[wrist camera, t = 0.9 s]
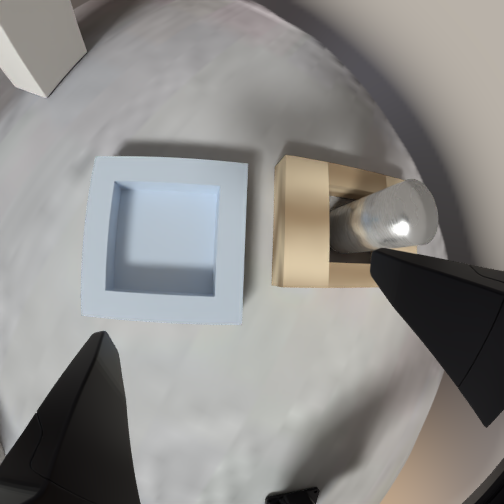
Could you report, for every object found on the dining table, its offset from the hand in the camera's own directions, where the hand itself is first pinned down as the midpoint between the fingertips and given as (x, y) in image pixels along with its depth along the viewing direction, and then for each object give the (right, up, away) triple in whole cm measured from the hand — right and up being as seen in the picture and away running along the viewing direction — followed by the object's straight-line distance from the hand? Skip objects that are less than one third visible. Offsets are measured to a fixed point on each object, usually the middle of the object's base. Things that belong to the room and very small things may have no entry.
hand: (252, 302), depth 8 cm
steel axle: (+9, +3, +17) cm, 20 cm away
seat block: (-7, +2, +14) cm, 16 cm away
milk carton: (-23, +22, +12) cm, 34 cm away
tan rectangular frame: (+9, +3, +17) cm, 20 cm away
